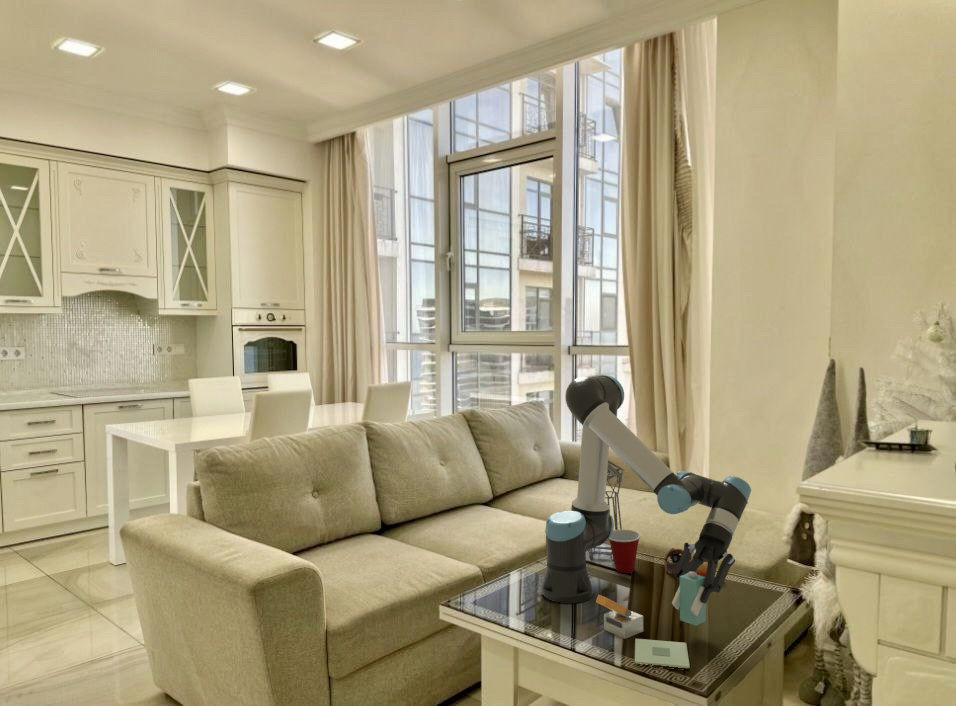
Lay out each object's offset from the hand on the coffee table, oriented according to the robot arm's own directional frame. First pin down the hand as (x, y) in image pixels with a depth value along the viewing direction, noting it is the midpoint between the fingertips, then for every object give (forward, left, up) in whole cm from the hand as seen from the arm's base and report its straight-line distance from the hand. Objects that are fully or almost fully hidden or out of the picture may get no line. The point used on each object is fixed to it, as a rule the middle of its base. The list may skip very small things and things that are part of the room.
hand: (684, 609), depth 160 cm
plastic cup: (-16, +49, -8) cm, 52 cm away
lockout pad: (-6, -9, -8) cm, 13 cm away
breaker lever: (-15, +3, -3) cm, 16 cm away
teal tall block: (+2, +3, -4) cm, 5 cm away
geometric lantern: (-24, +63, -8) cm, 68 cm away
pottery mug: (+1, +52, -8) cm, 53 cm away
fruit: (+8, +46, -8) cm, 47 cm away
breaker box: (-15, +3, -8) cm, 17 cm away
